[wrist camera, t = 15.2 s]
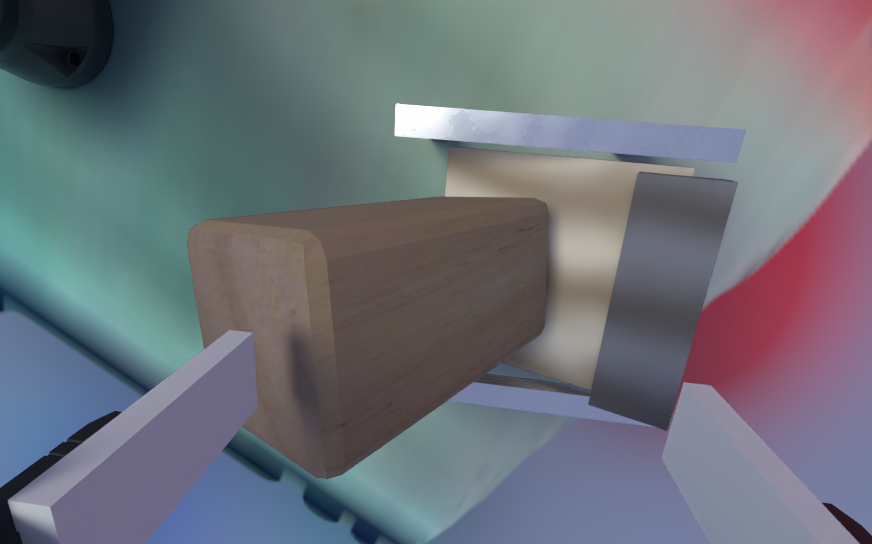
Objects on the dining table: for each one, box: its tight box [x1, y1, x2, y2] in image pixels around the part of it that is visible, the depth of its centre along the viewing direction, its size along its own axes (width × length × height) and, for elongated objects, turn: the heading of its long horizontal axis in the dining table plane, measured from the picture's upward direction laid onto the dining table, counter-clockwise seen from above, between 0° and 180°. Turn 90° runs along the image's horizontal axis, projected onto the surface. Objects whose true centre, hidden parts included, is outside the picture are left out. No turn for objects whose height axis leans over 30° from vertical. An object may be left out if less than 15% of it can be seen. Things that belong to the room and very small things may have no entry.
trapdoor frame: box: [395, 104, 746, 428], centre depth 40 cm, size 22×22×20 cm
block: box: [187, 197, 549, 479], centre depth 25 cm, size 10×10×20 cm
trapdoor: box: [445, 147, 738, 431], centre depth 31 cm, size 17×19×4 cm
